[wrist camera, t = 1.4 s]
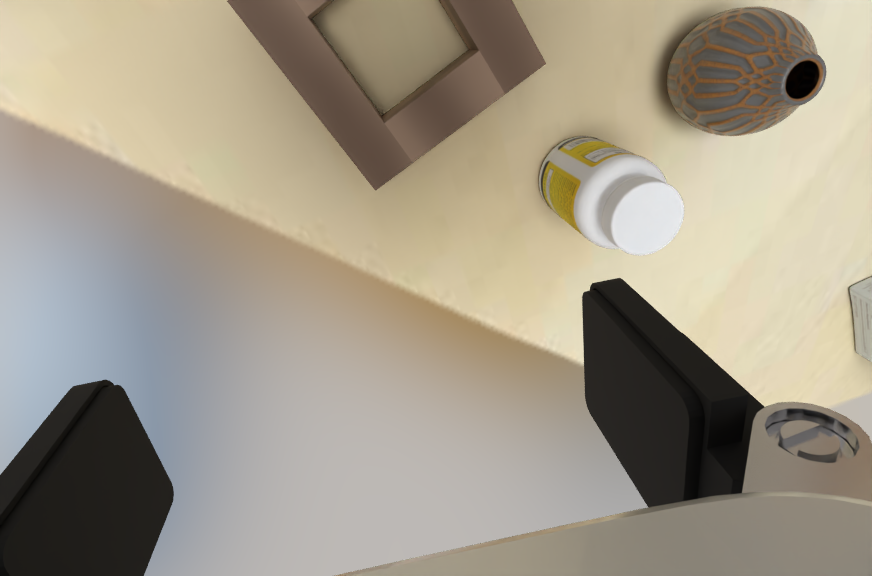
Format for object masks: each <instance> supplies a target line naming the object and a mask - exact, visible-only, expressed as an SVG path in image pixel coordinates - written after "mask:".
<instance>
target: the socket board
mask: <svg viewBox="0 0 872 576" xmlns="http://www.w3.org/2000/svg"><path fill="white" fill-rule="evenodd" d="M332 1H334V0H228V1H227V2H228V3H229V4H230V5H231V7H232V8H233V9H234V10H235V12H236V13H237V14H238V16H239V17H240V18H241V19H242V21H243V22H244V23H245V25H246V26H247V27H248V28H249V30H250V31H251V32H252V33H253V35H254V36H255V37H256V39H257V40H258V41H259V42H260V44H261V45H262V46H263V47H264V49H265V50H266V51H267V53H268V54H269V55H270V56H271V58H272V59H273V60H274V62H275V63H276V64H277V65H278V67H279V68H280V69H281V70H282V72H283V73H284V74H285V76H286V77H287V78H288V79H289V81H290V82H291V83H292V85H293V86H294V87H295V88H296V90H297V91H298V92H299V93H300V95H301V96H302V97H303V99H304V100H305V101H306V102H307V104H308V105H309V106H310V108H311V109H312V110H313V111H314V113H315V114H316V115H317V116H318V118H319V119H320V120H321V122H322V123H323V124H324V125H325V127H326V128H327V129H328V131H329V132H330V133H331V134H332V136H333V137H334V138H335V139H336V141H337V142H338V143H339V145H340V146H341V147H342V148H343V150H344V151H345V152H346V153H347V155H348V156H349V157H350V159H351V160H352V161H353V162H354V164H355V165H356V166H357V168H358V169H359V170H360V171H361V173H362V174H363V175H364V176H365V178H366V179H367V180H368V182H369V183H370V184H371V185H372V187H373V188H374V189H375V191H376V190H377V189H378V188H380V187H381V186H382V185H384V184H385V183H386V182H388V181H389V180H390V179H392V178H393V177H394V176H396V175H397V174H398V173H400V172H401V171H402V170H404V169H405V168H406V167H408V166H409V165H410V164H412V163H413V162H414V161H416V160H417V159H419V158H420V157H421V156H423V155H424V154H425V153H427V152H428V151H429V150H431V149H432V148H433V147H435V146H436V145H437V144H439V143H440V142H441V141H443V140H444V139H445V138H447V137H448V136H449V135H451V134H452V133H453V132H455V131H456V130H458V129H459V128H460V127H462V126H463V125H464V124H466V123H467V122H468V121H470V120H471V119H472V118H474V117H475V116H476V115H478V114H479V113H480V112H482V111H483V110H484V109H486V108H487V107H488V106H490V105H491V104H492V103H494V102H495V101H497V100H498V99H499V98H501V97H502V96H503V95H505V94H506V93H507V92H509V91H510V90H511V89H513V88H514V87H515V86H517V85H518V84H519V83H521V82H522V81H523V80H525V79H526V78H527V77H529V76H530V75H531V74H533V73H534V72H536V71H537V70H538V69H540V68H541V67H542V66H544V65H545V64H546V63H545V61H544V59H543V57H542V55H541V54H540V52H539V50H538V48H537V46H536V44H535V42H534V41H533V39H532V37H531V35H530V33H529V31H528V30H527V28H526V26H525V24H524V22H523V20H522V19H521V17H520V15H519V13H518V11H517V9H516V7H515V6H514V4H513V2H512V0H439V1H440V3H441V4H442V6H443V8H444V9H445V11H446V13H447V14H448V16H449V17H450V19H451V21H452V22H453V24H454V26H455V27H456V29H457V31H458V32H459V34H460V36H461V37H462V39H463V41H464V42H465V44H466V46H467V47H468V49H469V50H468V51H466V52H465V53H464V54H462V55H461V56H460V57H459V58H457V59H456V60H455V61H453V62H452V63H451V64H449V65H448V66H447V67H446V68H444V69H443V70H442V71H440V72H439V73H438V74H436V75H435V76H434V77H432V78H431V79H430V80H429V81H427V82H426V83H425V84H423V85H422V86H421V87H419V88H418V89H417V90H416V91H414V92H413V93H412V94H410V95H409V96H408V97H406V98H405V99H404V100H402V101H401V102H400V103H399V104H397V105H396V106H395V107H393V108H392V109H391V110H389V111H388V112H387V113H386V114H384V115H383V116H381V114H380V113H379V111H378V110H377V109H376V107H375V106H374V105H373V103H372V102H371V100H370V99H369V98H368V96H367V95H366V93H365V92H364V91H363V89H362V88H361V87H360V85H359V84H358V82H357V81H356V80H355V78H354V77H353V75H352V74H351V73H350V71H349V70H348V69H347V67H346V66H345V64H344V63H343V62H342V60H341V59H340V57H339V56H338V55H337V53H336V52H335V51H334V49H333V48H332V46H331V45H330V44H329V42H328V41H327V40H326V38H325V37H324V35H323V34H322V33H321V31H320V30H319V28H318V27H317V26H316V24H315V23H314V22H313V20H312V18H313V17H314V16H315V15H317V14H318V13H319V12H320V11H321V10H323V9H324V8H325V7H326V6H328V5H329V4H330V3H331V2H332Z"/></svg>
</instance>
